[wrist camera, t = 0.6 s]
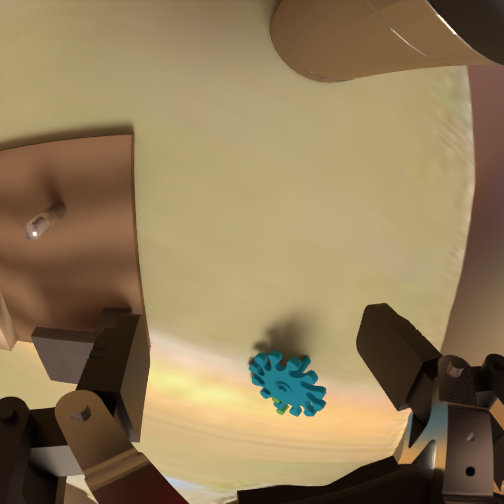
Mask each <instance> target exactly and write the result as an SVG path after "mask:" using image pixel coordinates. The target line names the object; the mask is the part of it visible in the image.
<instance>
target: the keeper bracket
mask: <svg viewBox="0 0 504 504" xmlns="http://www.w3.org/2000/svg"><path fill="white" fill-rule="evenodd" d="M120 314H133V311H132V309H128V308H104V309H103V311H102V313H101V316H100V318H99V321H98V323H97V325H96V328H95V330H94V332H89V331H76V330H65V329H55V328H46V327H37V326H36V328H35V329H34V331H33V333H32V334H31V339H32V341H33V343H34V346H35V348H36V350H37V352H38V355H39V357H40V359H41V361H42V363H43V365H44V367H45V369H46V371H47V373H48V375H49V377H50V379H51V380H54V381H59V382H66V383H72V384H78V382H79V380H80V377H81V374H82V372H83V369H84V367H85V364H86V362H87V359H88V358H89V354H90V352H91V349H93V348H92V347H93V345H94V342H95V340H96V338H97V336H98V335H99V334H100V333H101V332H103V331H104V330H105V329H106V328H115V326H116V323H117V321H118V318H119V316H120Z"/></svg>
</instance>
